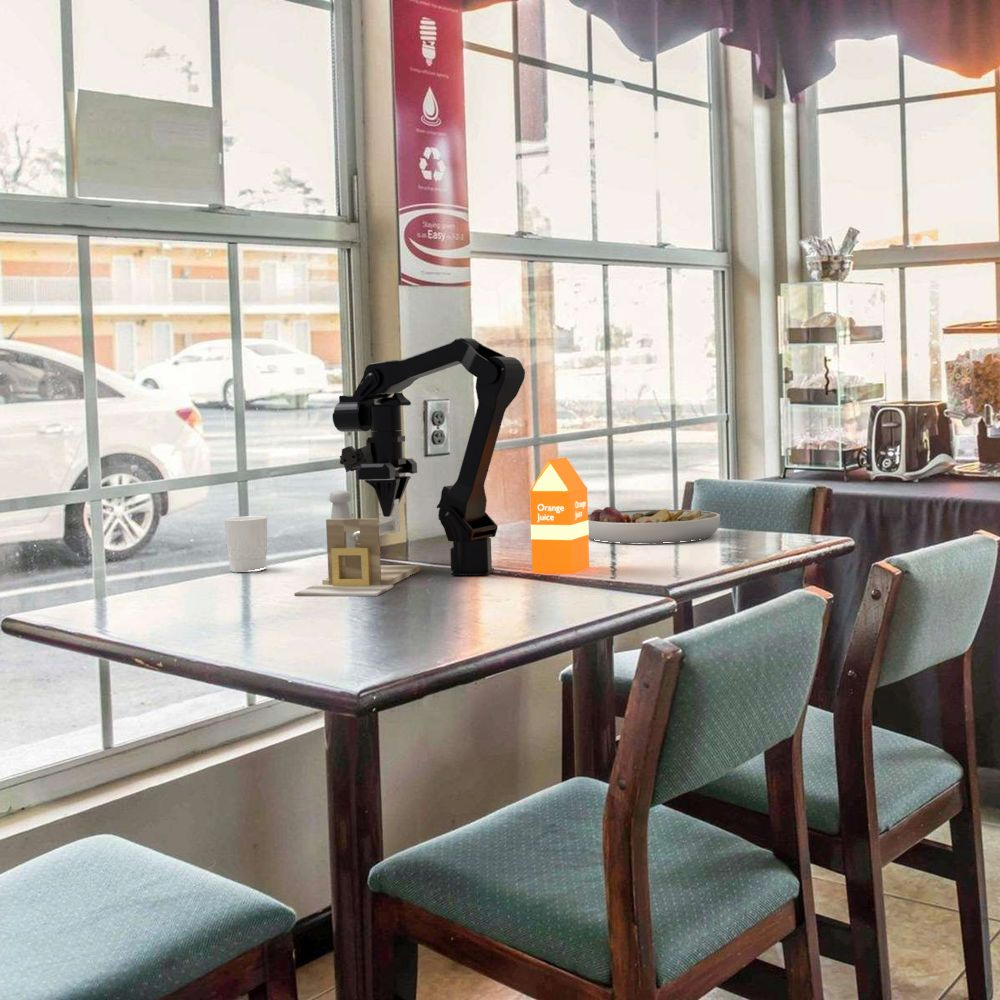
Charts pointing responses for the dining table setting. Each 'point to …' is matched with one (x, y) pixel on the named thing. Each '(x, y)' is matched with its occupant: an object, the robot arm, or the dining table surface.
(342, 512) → the salt shaker
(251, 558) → the white cup
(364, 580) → the frame
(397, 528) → the shaft
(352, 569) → the wooden latch stand
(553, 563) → the orange juice
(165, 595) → the dining table surface
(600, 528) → the bowl
